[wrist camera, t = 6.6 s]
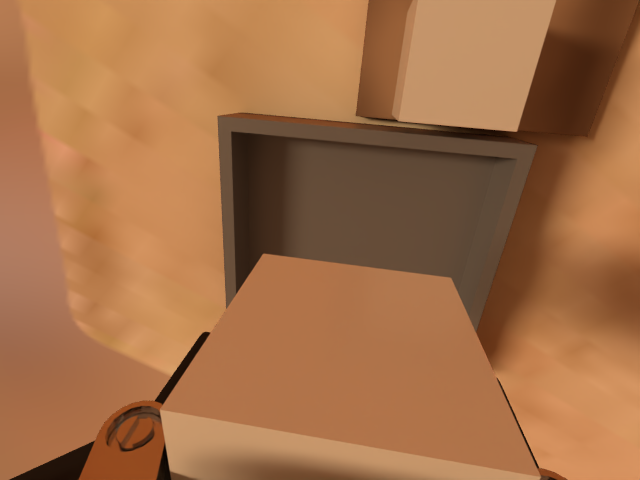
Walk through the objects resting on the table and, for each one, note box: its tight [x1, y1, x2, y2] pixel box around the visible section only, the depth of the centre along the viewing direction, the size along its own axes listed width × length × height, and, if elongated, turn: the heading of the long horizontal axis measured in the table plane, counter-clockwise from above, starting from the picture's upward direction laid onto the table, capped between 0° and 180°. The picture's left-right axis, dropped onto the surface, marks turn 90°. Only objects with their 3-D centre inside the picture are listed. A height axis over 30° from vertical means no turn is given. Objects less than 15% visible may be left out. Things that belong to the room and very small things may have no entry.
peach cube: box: [160, 254, 541, 480], centre depth 8 cm, size 6×6×6 cm
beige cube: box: [392, 0, 556, 132], centre depth 17 cm, size 6×6×6 cm
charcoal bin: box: [218, 113, 538, 332], centre depth 24 cm, size 18×18×4 cm
